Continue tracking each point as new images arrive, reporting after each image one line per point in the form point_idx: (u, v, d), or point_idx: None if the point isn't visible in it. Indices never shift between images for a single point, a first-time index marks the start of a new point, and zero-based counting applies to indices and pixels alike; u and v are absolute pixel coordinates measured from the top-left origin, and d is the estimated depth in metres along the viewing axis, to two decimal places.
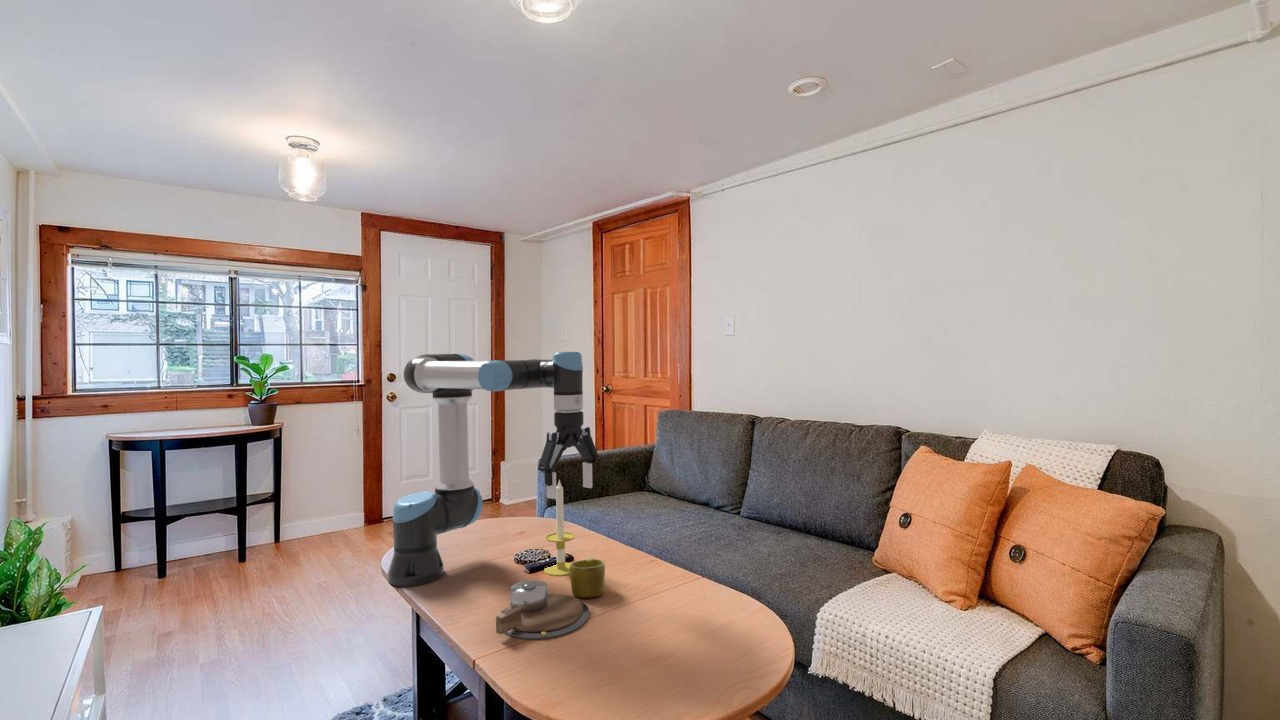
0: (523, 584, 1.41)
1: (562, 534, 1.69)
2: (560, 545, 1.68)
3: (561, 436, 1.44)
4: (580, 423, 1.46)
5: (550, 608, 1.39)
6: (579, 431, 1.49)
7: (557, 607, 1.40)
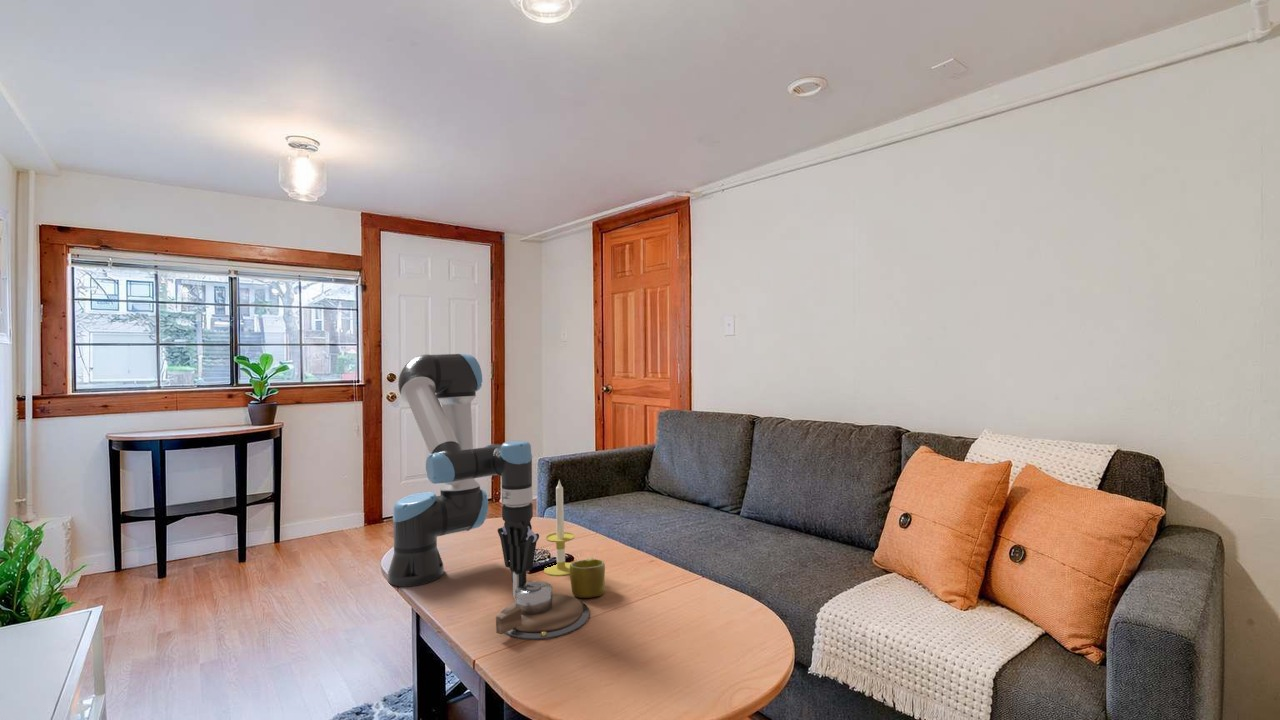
0: (528, 585, 1.40)
1: (562, 534, 1.69)
2: (560, 545, 1.68)
3: (504, 526, 1.45)
4: (507, 519, 1.40)
5: None
6: (522, 528, 1.41)
7: (557, 607, 1.40)
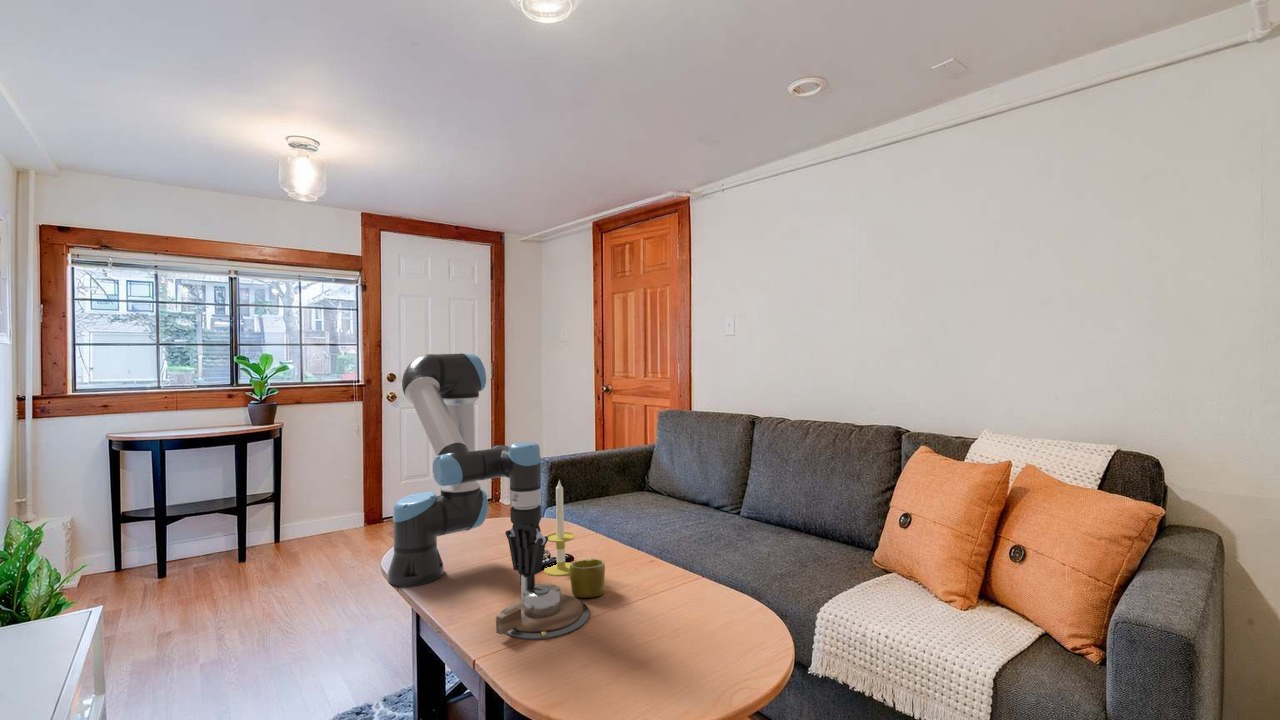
0: (536, 588, 1.38)
1: (562, 534, 1.69)
2: (560, 545, 1.68)
3: (512, 528, 1.43)
4: (515, 522, 1.38)
5: None
6: (530, 531, 1.39)
7: None
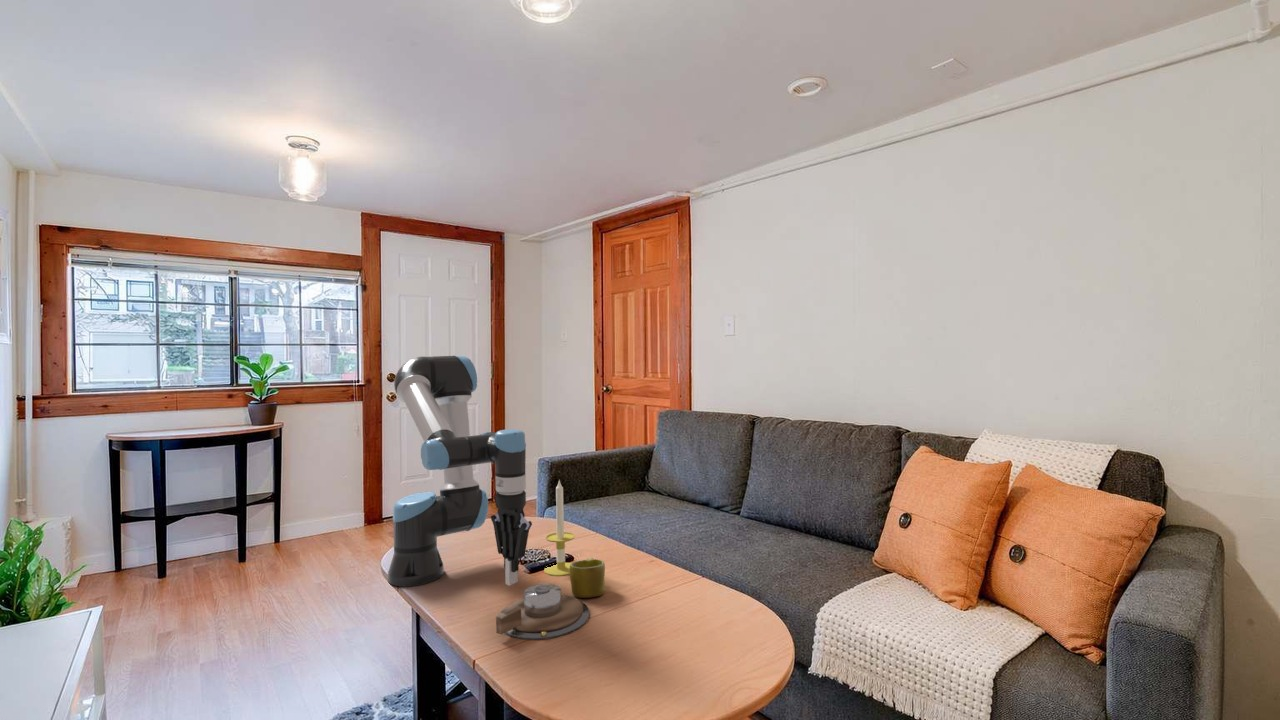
0: (536, 588, 1.38)
1: (562, 534, 1.69)
2: (560, 545, 1.68)
3: (497, 513, 1.46)
4: (500, 507, 1.42)
5: None
6: (515, 516, 1.42)
7: None
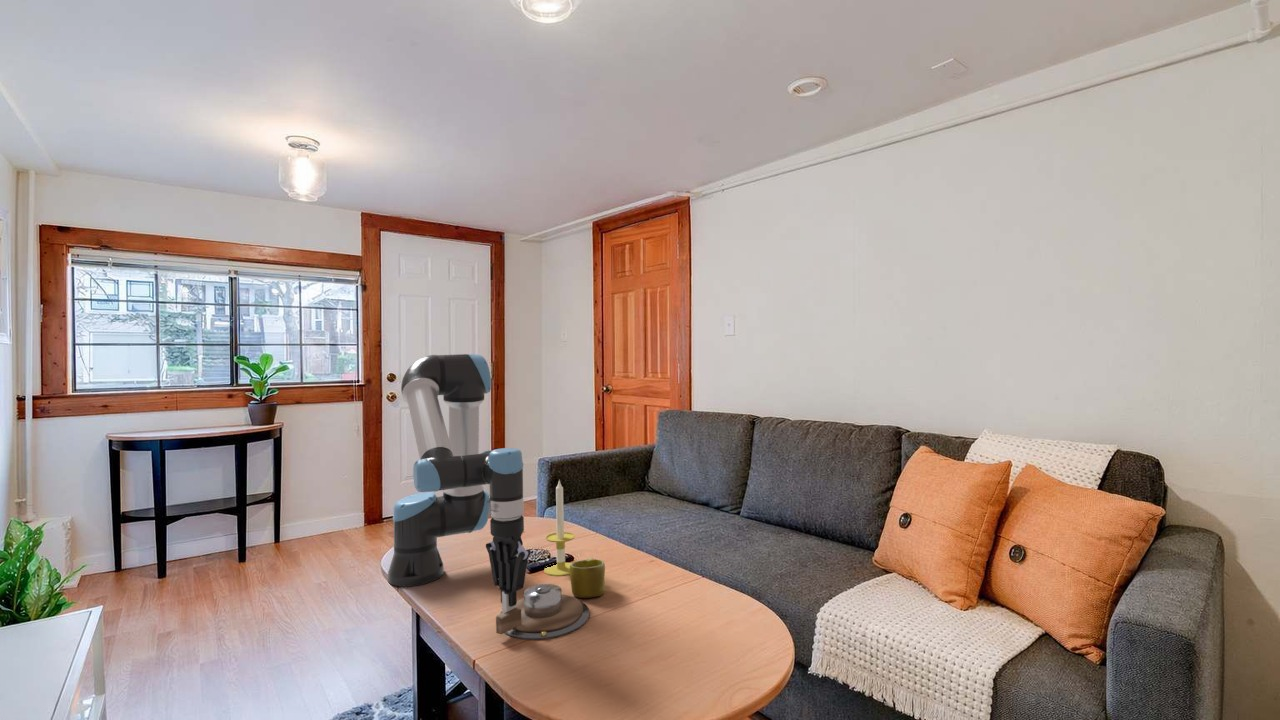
0: (537, 588, 1.38)
1: (562, 534, 1.69)
2: (560, 545, 1.68)
3: (493, 541, 1.33)
4: (495, 534, 1.28)
5: None
6: (512, 544, 1.29)
7: None
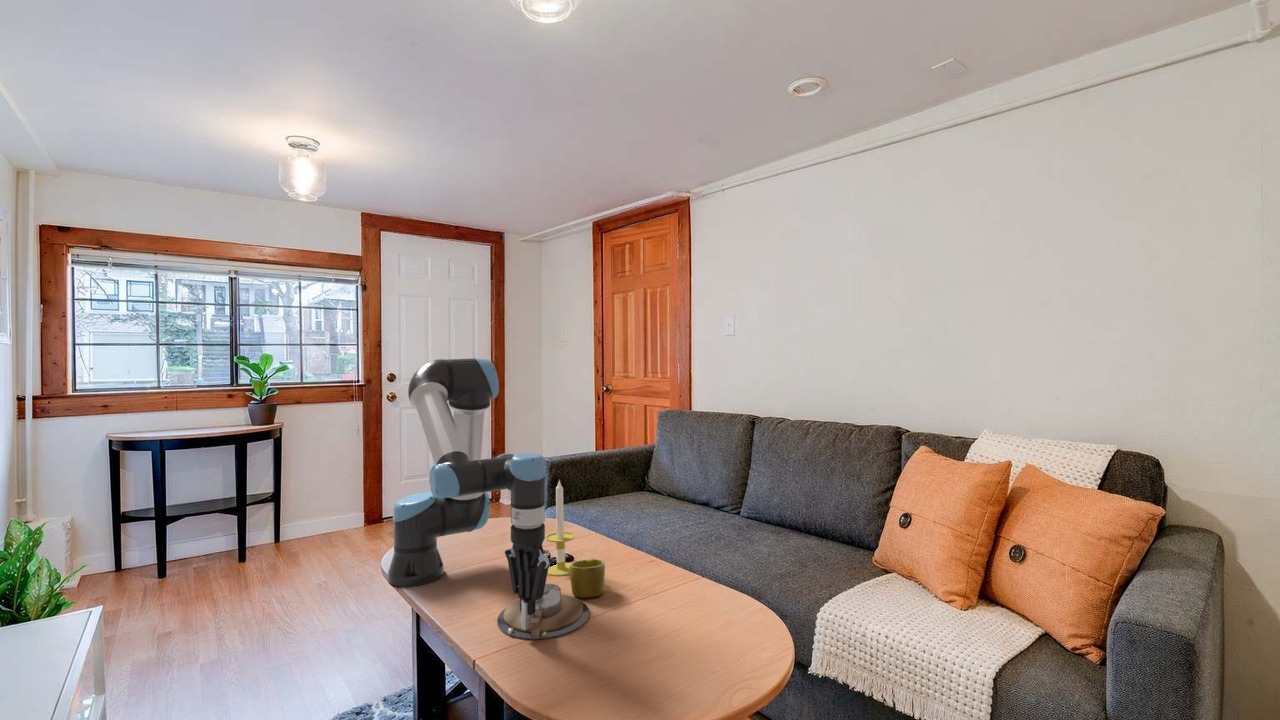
0: None
1: (562, 534, 1.69)
2: (560, 545, 1.68)
3: (512, 548, 1.29)
4: (516, 542, 1.25)
5: None
6: (533, 552, 1.25)
7: None
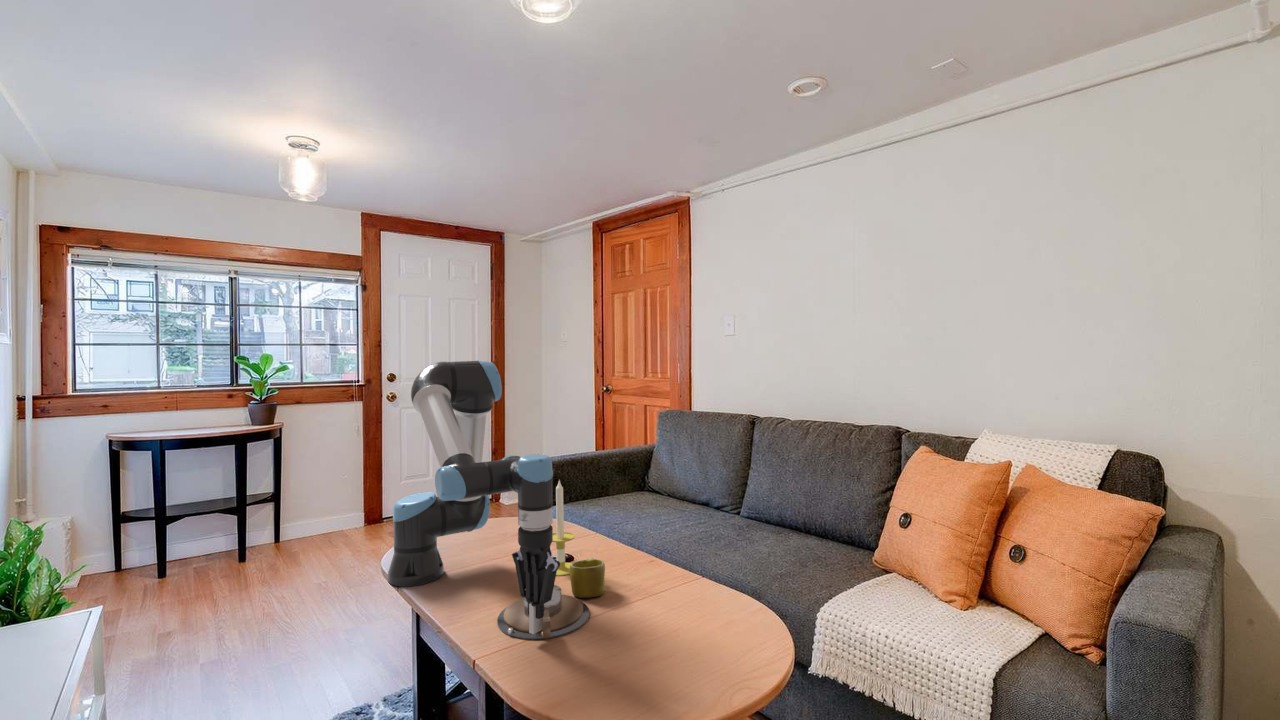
0: None
1: (562, 534, 1.69)
2: (560, 545, 1.68)
3: (520, 550, 1.28)
4: (524, 544, 1.23)
5: None
6: (540, 555, 1.24)
7: None
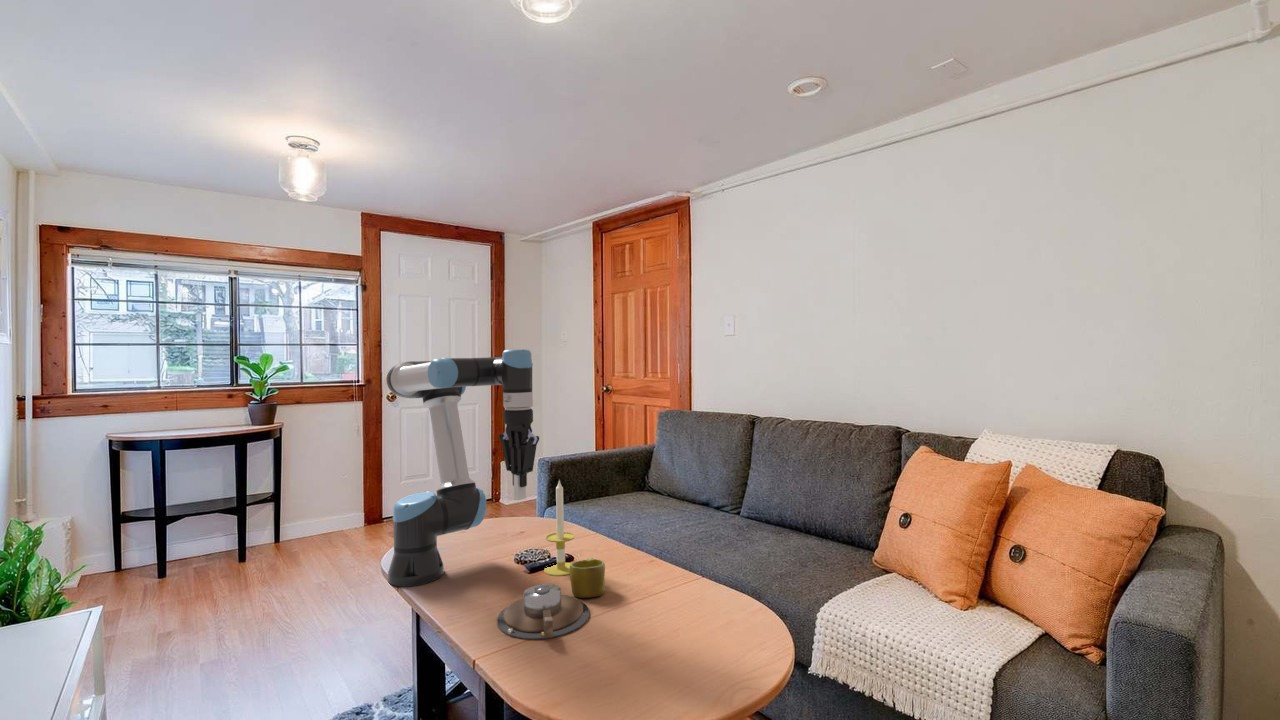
0: (541, 590, 1.37)
1: (562, 534, 1.69)
2: (560, 545, 1.68)
3: (505, 431, 1.50)
4: (508, 421, 1.45)
5: None
6: (522, 431, 1.46)
7: None
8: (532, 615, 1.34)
